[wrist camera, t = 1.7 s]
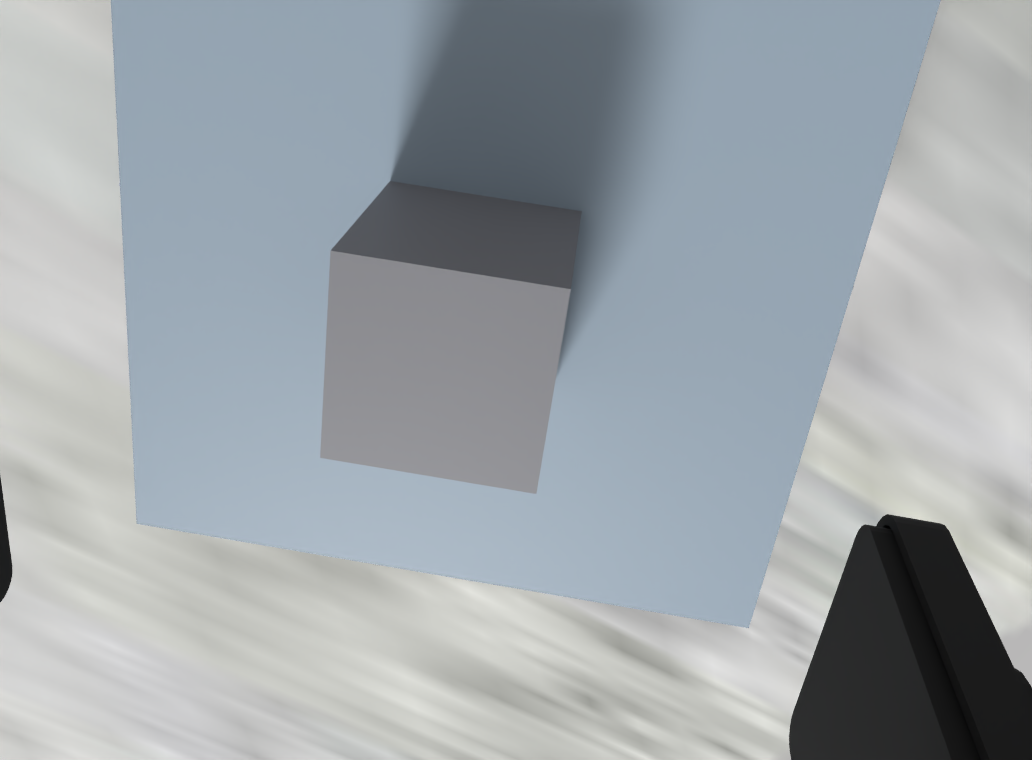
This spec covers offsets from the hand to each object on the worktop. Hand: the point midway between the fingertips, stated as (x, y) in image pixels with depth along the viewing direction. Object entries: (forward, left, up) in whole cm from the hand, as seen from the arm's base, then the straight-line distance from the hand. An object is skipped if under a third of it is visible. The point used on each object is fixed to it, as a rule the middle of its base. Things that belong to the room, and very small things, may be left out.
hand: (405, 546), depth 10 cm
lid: (0, 0, -10) cm, 10 cm away
